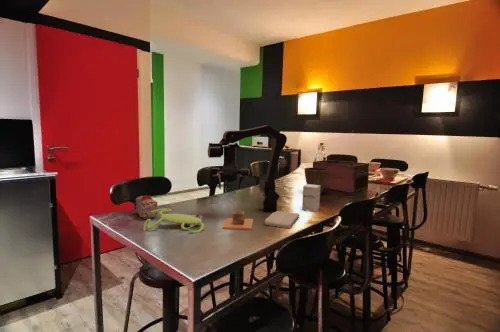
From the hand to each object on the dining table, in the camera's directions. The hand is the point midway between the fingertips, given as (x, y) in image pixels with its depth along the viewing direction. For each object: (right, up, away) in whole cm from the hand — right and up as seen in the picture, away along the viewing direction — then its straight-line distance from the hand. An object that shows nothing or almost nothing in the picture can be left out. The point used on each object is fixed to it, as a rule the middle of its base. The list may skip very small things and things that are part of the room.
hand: (229, 189), depth 142 cm
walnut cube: (+5, -13, -15) cm, 20 cm away
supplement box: (+42, -11, +11) cm, 44 cm away
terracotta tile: (+5, -14, -15) cm, 21 cm away
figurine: (-22, -15, -16) cm, 31 cm away
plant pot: (+52, -7, +47) cm, 70 cm away
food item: (-39, -12, -4) cm, 41 cm away
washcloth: (+25, -14, -9) cm, 30 cm away
